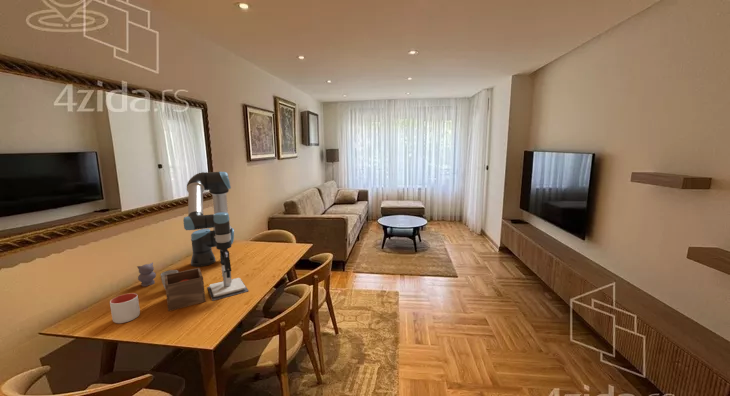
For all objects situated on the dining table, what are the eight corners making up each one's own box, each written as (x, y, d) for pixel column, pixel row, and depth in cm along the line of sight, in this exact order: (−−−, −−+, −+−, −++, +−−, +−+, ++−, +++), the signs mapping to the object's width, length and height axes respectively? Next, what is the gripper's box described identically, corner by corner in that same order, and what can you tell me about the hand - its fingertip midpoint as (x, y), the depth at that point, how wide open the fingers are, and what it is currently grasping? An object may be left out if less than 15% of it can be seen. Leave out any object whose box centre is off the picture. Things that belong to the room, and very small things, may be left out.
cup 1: (123, 313, 141) (120, 293, 140) (145, 312, 142) (142, 292, 141) (107, 325, 131) (103, 304, 130) (130, 323, 132) (127, 303, 131)
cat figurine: (140, 288, 168) (137, 268, 166) (137, 284, 173) (134, 265, 171) (158, 283, 174) (156, 264, 172) (155, 279, 179) (152, 261, 177)
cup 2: (183, 287, 168) (181, 270, 167) (169, 293, 160) (167, 276, 159) (172, 285, 171) (170, 269, 169) (159, 291, 163) (156, 274, 162)
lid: (209, 287, 167) (207, 269, 165) (239, 280, 176) (238, 263, 174) (214, 298, 154) (212, 279, 152) (246, 290, 163) (244, 271, 161)
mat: (207, 287, 167) (207, 287, 167) (240, 279, 178) (240, 279, 178) (212, 300, 152) (212, 300, 152) (248, 291, 162) (248, 290, 162)
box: (167, 298, 156) (164, 274, 154) (201, 289, 165) (199, 267, 163) (168, 311, 143) (165, 285, 141) (205, 301, 152) (203, 277, 150)
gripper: (212, 237, 168) (216, 274, 171) (219, 247, 149) (223, 288, 152) (226, 235, 172) (230, 271, 175) (235, 244, 153) (238, 284, 157)
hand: (226, 279), depth 164 cm, fingers open, 10 cm apart
